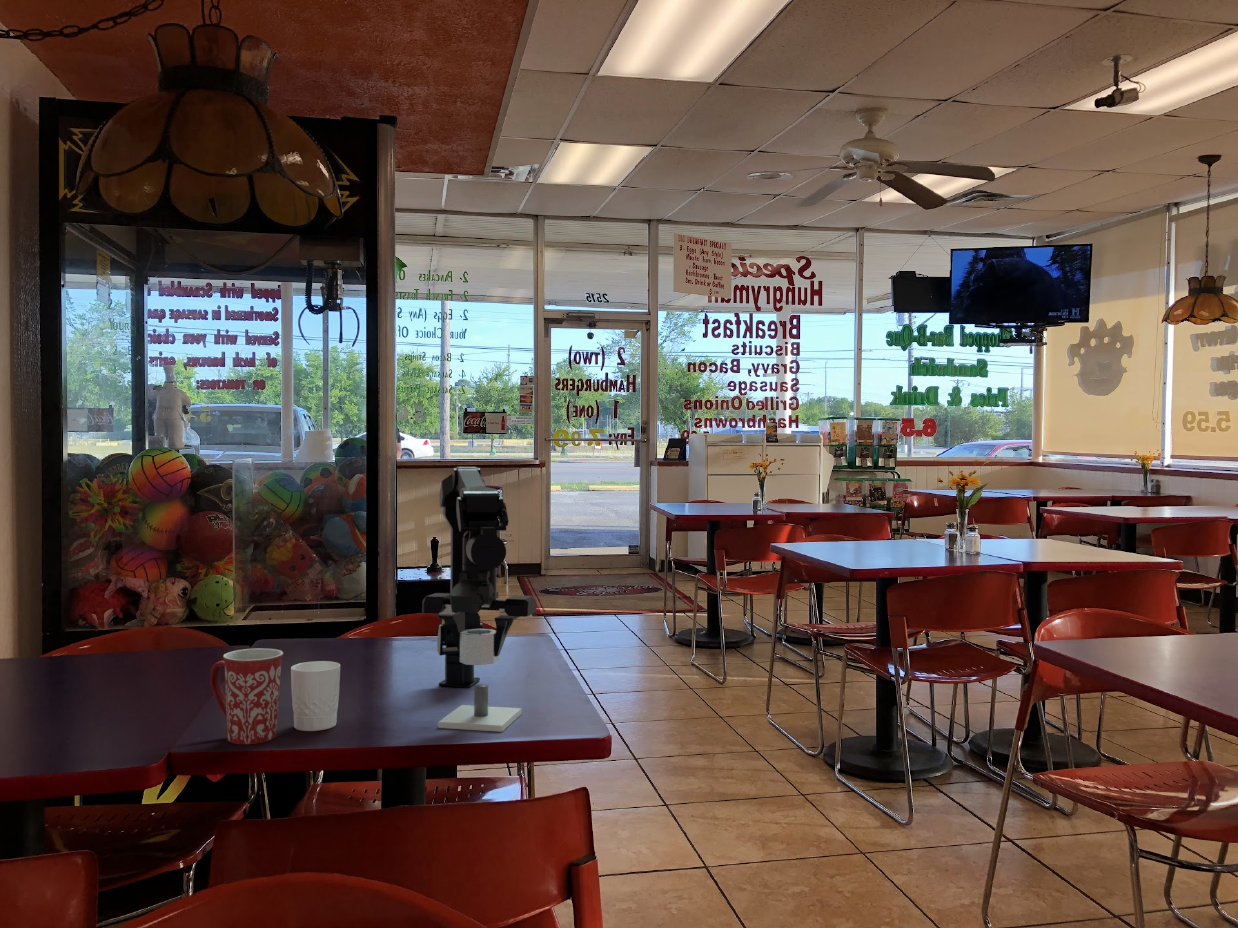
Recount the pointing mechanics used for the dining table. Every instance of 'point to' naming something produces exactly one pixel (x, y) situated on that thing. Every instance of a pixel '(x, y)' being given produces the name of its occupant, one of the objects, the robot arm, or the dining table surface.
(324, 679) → the white cup
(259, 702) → the mug
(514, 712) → the post fixture
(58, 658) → the dining table surface
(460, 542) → the robot arm
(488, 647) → the grey hollow octagonal cylinder
